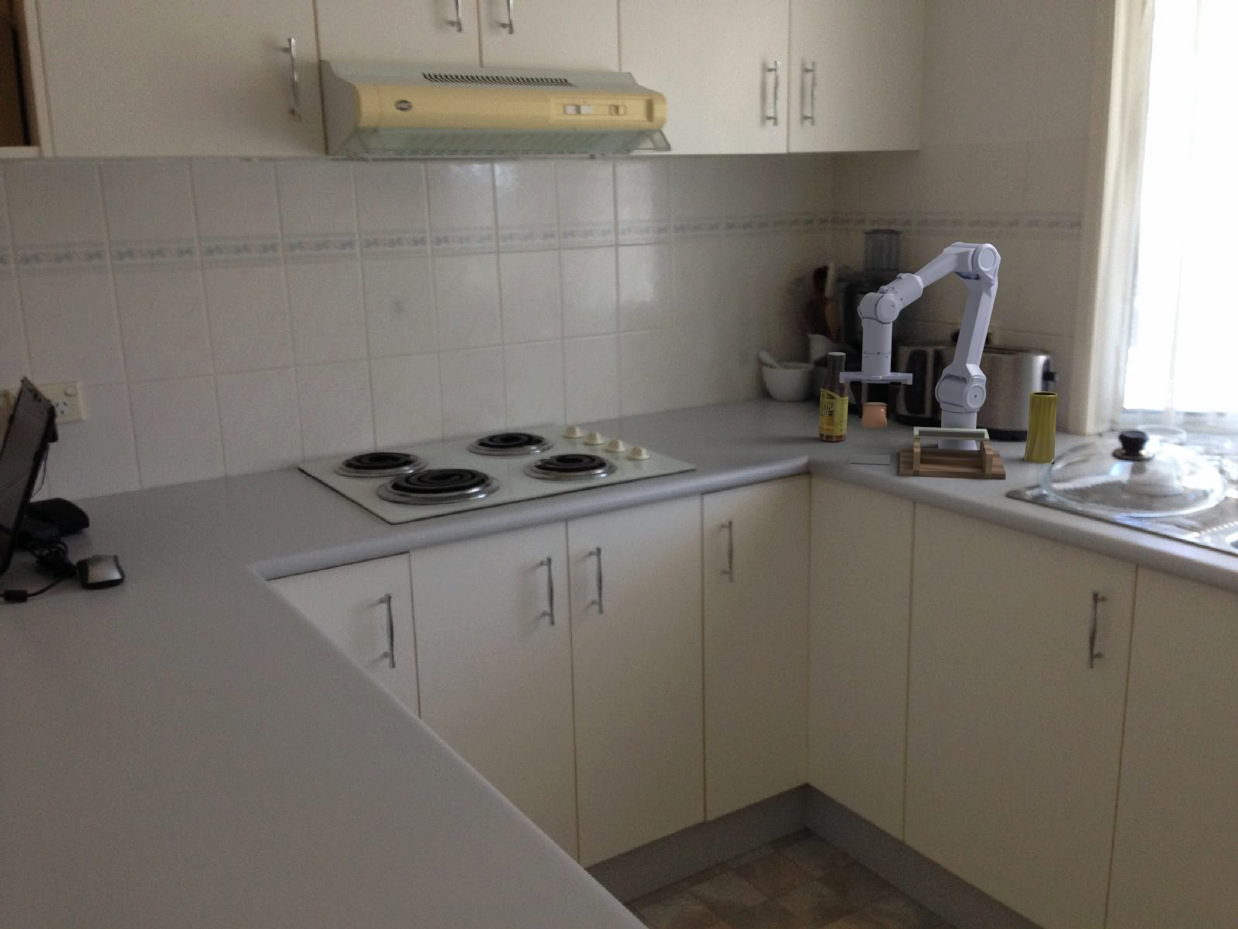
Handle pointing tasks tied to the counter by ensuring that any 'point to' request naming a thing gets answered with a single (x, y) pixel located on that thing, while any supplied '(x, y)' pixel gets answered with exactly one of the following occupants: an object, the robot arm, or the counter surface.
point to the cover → (951, 433)
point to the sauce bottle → (833, 401)
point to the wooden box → (951, 462)
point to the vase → (1041, 427)
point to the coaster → (870, 459)
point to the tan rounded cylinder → (874, 415)
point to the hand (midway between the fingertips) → (874, 417)
